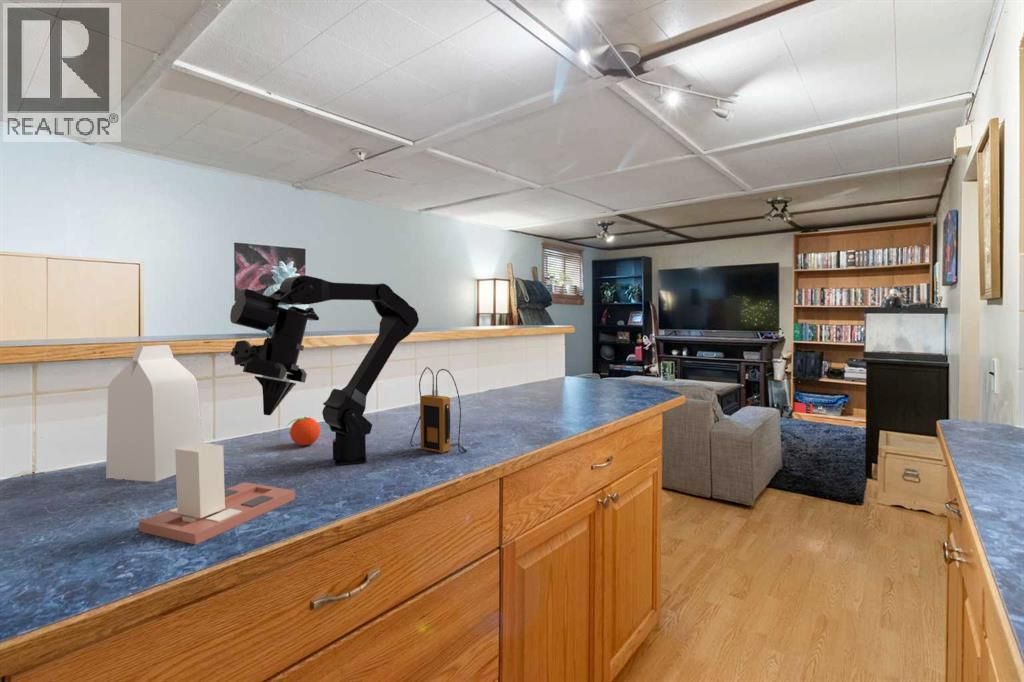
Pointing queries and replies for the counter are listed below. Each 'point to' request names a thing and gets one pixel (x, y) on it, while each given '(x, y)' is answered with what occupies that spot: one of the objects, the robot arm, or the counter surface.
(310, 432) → the clementine
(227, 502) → the switch block
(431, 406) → the multimeter
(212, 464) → the switch tab
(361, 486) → the counter surface
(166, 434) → the milk
